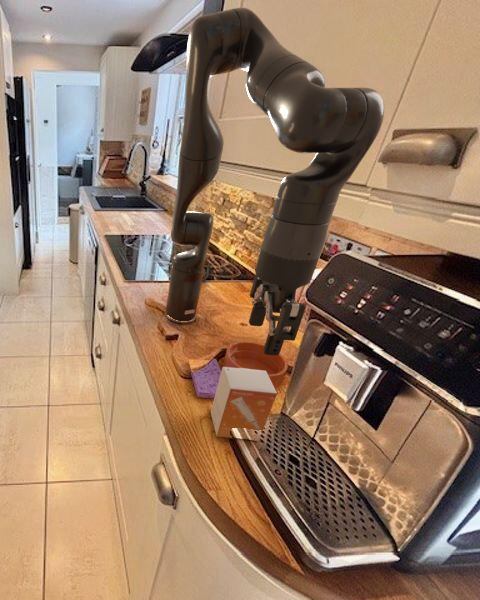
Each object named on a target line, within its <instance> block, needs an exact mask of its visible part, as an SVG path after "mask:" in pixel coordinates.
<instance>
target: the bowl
mask: <svg viewBox="0 0 480 600" xmlns="http://www.w3.org/2000/svg"><path fill="white" fill-rule="evenodd" d="M264 346H265V344H263V343H259V342H255V341H247V340H242V341H235V342H233V343H232V342H231V343H230V344H229V345H228V346H227V348H226V351H225V355H224V359H223V363H222V367H231V368H246V369H253V370H263V371H266V372H267V374H268V376H269V378H270V380H271V382H272V384H273V386H274V388H275V390H276V389H278V388H280V387H281V386H282V384H283V383H284V379H285V377H286V374H287V371H288V368H289V367H288V365H289V364H288V361H287V360H286V358H285V356H284V355H282V353H281V352H280V353H279V355H276V356H275V355H266V354H265V353H264V351H263V349H264Z"/></svg>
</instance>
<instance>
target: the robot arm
mask: <svg viewBox="0 0 480 600" xmlns="http://www.w3.org/2000/svg"><path fill="white" fill-rule="evenodd" d="M185 56H186V57H185V58H186V59H185V86H184V87H185V89H184V113H183V121H182V122H183V123H182V130H181V131H182V133H181V140H180V146H179V147H180V148H179V155H178V156H179V157H178V169H177V170H178V171H177V185H176V186H177V187H176V195H175V196H176V197H175V201H174V207H173V208H174V209H173V214H172V220H171V227H170V238H171V242H172V243H174V244H176V245H181V246H191V247H194V248H192V249H190V250H188V251H184V252H180V253H177V254H175V255H174V256H173V257H172V260H171V269H170V277H169V283H168V284H169V285H168V292H167V299H166V306H165V312H164V316H165V317H166V319H167V320H169V321H170V322H173V323H175V324H181V325H184V324H185V325H186V324H192V323H194V322H195V320H196V317H197V316H196V315H197V310H198V305H199V298H200V294H201V288H202V283H204V282H205V281H206V280H207V279H208V278H209V276H210V269H211V264H210V263H208V264H207V268H206V275H205V277H204V273H205V266H206V265H205V264H206V260H207V253H208V249H209V245H210V241H211V237H212V234H213V233H212V232H213V228H214V217H213V214H212V213H210V212H199V211H188V209H189V207H190V205H191V204H193V203H192V202H193V201H194V200H195V199H196V197H198V196H199V195H200V194H201V193H202V192H203V191H204V190H205V188H207V187H208V186H209V184H211V182H212V181H213V180H214V179H215V177H216V176H217V175H218V172H219V169H220V166H221V161H222V156H223V151H224V145H225V144H224V142H225V141H224V136H223V133H222V131H221V128H220V126H219V125H218V123H217V121H216V119H215V116H214V115H213V113H212V110H211V107H210V104H209V100H208V98H209V97H208V90H209V89H208V88H209V80H210V78H211V77H215V76H218V75H224V74H228V73H229V74H230V73H232V72H235V71H237V70H241V71H246V72H247V73H246V79H245V88H246V92H247V95H248V97H249V99H250V100H251V102H252V103H253V104H254V105H255V106H256V107H257V108H258V109H259V110H260V111H261V112H263V113H264V114H265V115H266V116H267V117H268V118H269V119H270V122H271V124H272V126H273V130H274V132H275V134H276V137H277V140H278V141H279V143H280V144H281V146H283V147H285V148H286V149H287V150H290V151H292V152H294V153H298V154H315V155H314V157H313V159H311V161H310V163H309V164H308V166H307V167H304V169H301V170H299V171H295V172H292V173H290V174H288V175H286V176H284V178H283V179H282V180H281V182H280V185H279V187H278V192H277V195H276V198H275V201H274V202H275V203H274V205H273V210H272V213H271V217H270V219H269V222H268V224H267V226H266V229H265V232H264V236H263V239H262V243H261V247H260V251H259V254H258V258H257V262H256V265H255V270H254V272H255V275H254V279H253V283H252V286H251V289H250V292H249V298H251V299H252V300H251V305H252V307H251V312H250V316H249V319H248V324H249V325H250V326H251V327H262V326H263V325H264V322H265V319H266V321H267V322H268V334H267V336H266V340H265V343H264V345H265V346H264V349H263V351H264V353H265V354H266V355H275V356H276V355H279V353H280V354H281V351H282V348H283V345H284V342H285V341H292V342H294V341H296V338H297V335H298V332H299V329H300V326H301V322H302V319H303V317H304V314H305V311H306V304H305V303H303V302H302V303H301V302H296V293H297V290H298V289H300V288H302V287H305V286H307V285H308V284H310V282H312V279H313V276H314V274H315V271H316V268H317V265H318V262H319V259H320V257H321V253H322V252H323V248H324V245H325V244H326V240H327V235H328V230H329V226H330V223H331V219H332V216H333V215H334V212H335V208H336V205H337V204H338V203H337V202H338V199H339V197H340V194H341V191H342V190H343V188H344V187H345V185H346V184H347V183H348V181H349V180H350V178H351V177H352V176H353V174H354V172H355V171H356V169H357V168H358V166H359V165H360V163H361V162H362V160H363V159H364V158H365V156H366V154H367V153H368V151H369V150H370V149H371V147H372V145H373V144H374V142H375V140H376V139H377V136H379V133H380V130H381V128H382V125H383V122H384V117H385V103H384V100H383V97H382V95H381V93H380V92H378V91H377V90H376V89H373V88H371V87H370V88H369V87H326V79H325V76H324V74H323V73H322V71H321V70H320V69H318V68H317V67H316V66H315V65H313V64H312V63H310V62H309V61H306V60H305V59H303V58H301V57H299V56H298V55H297V54H294V53H293V52H291V51H289V50H288V48H286V47H284V46H283V45H282V44H281V43H280V42H279V41H278V39H277V38H276V37H275V35H274V34H273V32H271V31H270V29H268V27H267V26H266V25H265V23H264V22H263V21H262V19H261V18H260V17H259V16H258V15H257V14H256V13H255V12H254V11H253V10H251V9H250V8H248V7H235V8H231V9H226V10H221V11H217V12H213V13H212V12H211V13H208V14H204V15H201V16H198V17H197V18H196V19H195V20H193V23H192V24H191V26H190V29H189V33H188V39H187V44H186V55H185ZM203 277H204V278H203ZM275 314H279V315H275ZM167 315H169V316H170V317H172V318H173V319H175V320H173V319H171V318H169V317H168V316H167ZM176 320H178V321H176ZM190 320H191V321H190ZM181 321H187V322H181Z"/></svg>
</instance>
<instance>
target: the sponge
mask: <svg viewBox="0 0 480 600" xmlns="http://www.w3.org/2000/svg"><path fill="white" fill-rule="evenodd" d="M212 359H213V360H212V361H211V362H210V363H209V364H207V365H206V366H205V367H204V368H202V369H200V370H197V371H193V374H192V371H190V370H189V372H190V376H191V379H192V382H193V385H194V389H195V394H196V396H197V397H198V398H204V399H205V398H206V399H214V398H215V394H216V390H217V387H218V383H219V379H220V375H221V371H222V369H221V368H220V366H219V363H218V360H217V358H212Z"/></svg>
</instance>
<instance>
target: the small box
mask: <svg viewBox="0 0 480 600" xmlns="http://www.w3.org/2000/svg"><path fill="white" fill-rule="evenodd" d="M277 396H278V392H277V390H276V389H275V388H274V386H273V384H272V382H271V380H270V378H269V376H268V374H267V372H266V371H263V370H253V369H246V368H231V367H223V366H222V368H221V375H220V379H219V383H218V387H217V390H216V394H215V398H213V403H212V406H211V411H210V416H211V420H212V421H211V422H212V424H213V428H214V433H215V436H216V437H217V438H228V439H233V438H232V436H231V435H230V431H231V429H232V428H247V429H254V430H263V431H264V429H265V427H266V423H267V421H268V418H269V416H270V414H271V410H272V408H273V405H274V403H275V400H276V398H277Z"/></svg>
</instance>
